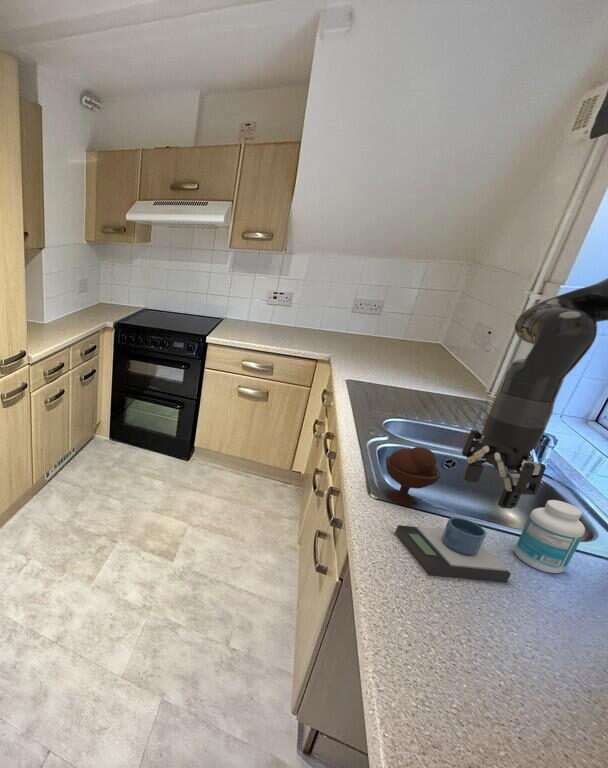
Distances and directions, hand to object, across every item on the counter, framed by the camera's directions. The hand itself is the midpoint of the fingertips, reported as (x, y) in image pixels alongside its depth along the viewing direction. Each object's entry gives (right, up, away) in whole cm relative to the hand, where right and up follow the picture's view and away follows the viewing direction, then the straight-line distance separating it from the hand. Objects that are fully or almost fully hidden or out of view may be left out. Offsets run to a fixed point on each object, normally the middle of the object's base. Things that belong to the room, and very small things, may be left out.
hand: (486, 493), depth 80 cm
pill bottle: (+15, -16, +5) cm, 23 cm away
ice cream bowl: (+2, -8, +25) cm, 26 cm away
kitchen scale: (-3, -15, +6) cm, 16 cm away
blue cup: (-1, -12, +5) cm, 13 cm away
